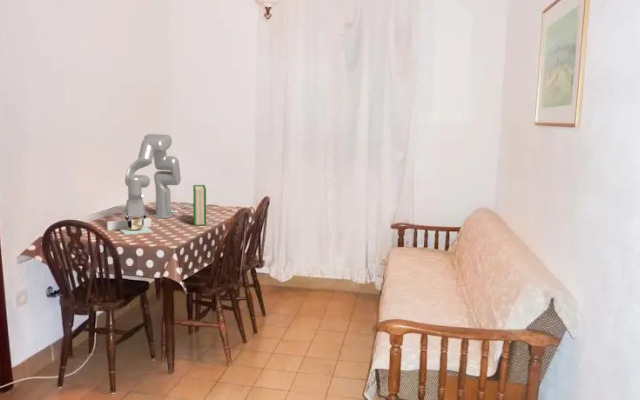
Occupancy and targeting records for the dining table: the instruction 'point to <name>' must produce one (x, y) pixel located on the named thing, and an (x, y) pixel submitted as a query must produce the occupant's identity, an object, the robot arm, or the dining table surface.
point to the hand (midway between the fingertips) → (135, 226)
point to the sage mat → (135, 231)
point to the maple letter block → (136, 223)
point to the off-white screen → (125, 224)
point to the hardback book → (199, 204)
